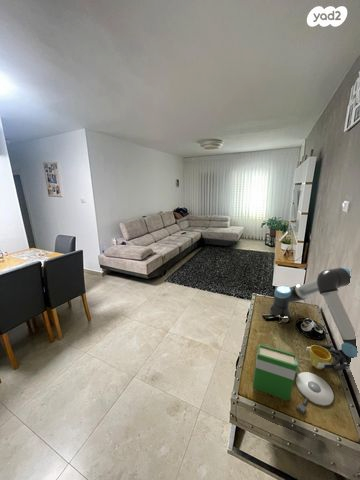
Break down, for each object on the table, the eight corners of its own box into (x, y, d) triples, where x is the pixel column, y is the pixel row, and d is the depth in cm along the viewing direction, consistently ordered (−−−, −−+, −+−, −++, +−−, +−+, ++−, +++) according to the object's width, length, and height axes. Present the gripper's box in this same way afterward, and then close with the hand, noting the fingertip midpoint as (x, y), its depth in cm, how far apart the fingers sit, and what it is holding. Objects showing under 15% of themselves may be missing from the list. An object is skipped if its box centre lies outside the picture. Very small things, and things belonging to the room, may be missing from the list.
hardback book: (287, 387, 108) (295, 354, 101) (289, 401, 102) (296, 366, 94) (253, 375, 115) (258, 343, 108) (253, 387, 109) (257, 354, 101)
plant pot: (324, 359, 122) (328, 347, 119) (330, 374, 113) (334, 362, 110) (305, 354, 126) (308, 342, 123) (309, 368, 117) (312, 356, 113)
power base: (303, 368, 119) (303, 365, 118) (337, 390, 106) (338, 388, 106) (282, 397, 104) (282, 394, 103) (319, 428, 91) (320, 425, 90)
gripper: (364, 380, 108) (323, 380, 108) (334, 345, 129) (300, 345, 130) (368, 370, 105) (326, 370, 106) (337, 336, 127) (302, 336, 127)
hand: (312, 356), depth 118 cm, fingers closed on plant pot, 10 cm apart
